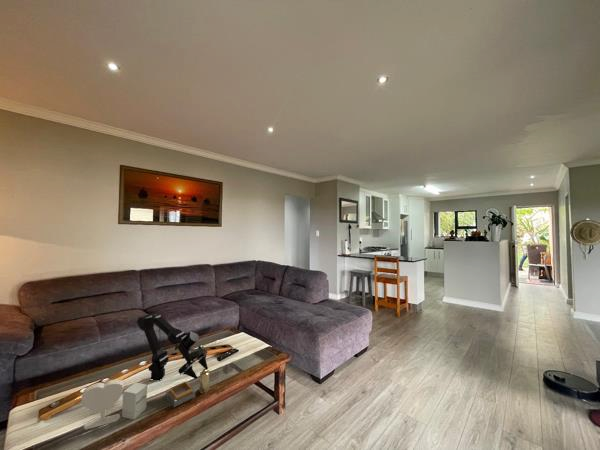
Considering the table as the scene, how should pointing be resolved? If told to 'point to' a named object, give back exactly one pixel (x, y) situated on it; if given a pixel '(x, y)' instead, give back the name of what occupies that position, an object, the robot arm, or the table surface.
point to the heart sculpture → (102, 400)
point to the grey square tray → (180, 394)
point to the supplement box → (134, 400)
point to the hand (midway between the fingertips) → (202, 373)
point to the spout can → (204, 380)
